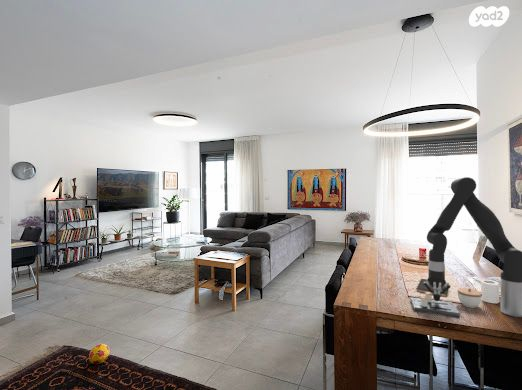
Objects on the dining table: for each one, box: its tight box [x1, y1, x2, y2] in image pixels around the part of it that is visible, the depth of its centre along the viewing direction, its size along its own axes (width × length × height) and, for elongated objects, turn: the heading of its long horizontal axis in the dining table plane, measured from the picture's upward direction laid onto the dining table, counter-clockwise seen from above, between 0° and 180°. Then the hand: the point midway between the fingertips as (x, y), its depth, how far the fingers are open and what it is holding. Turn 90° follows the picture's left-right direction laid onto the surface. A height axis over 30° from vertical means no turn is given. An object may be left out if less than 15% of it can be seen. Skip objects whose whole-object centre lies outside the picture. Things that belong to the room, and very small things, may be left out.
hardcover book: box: [416, 278, 450, 298], centre depth 177 cm, size 16×23×2 cm
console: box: [410, 297, 461, 318], centre depth 147 cm, size 20×14×2 cm
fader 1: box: [420, 295, 427, 307], centre depth 145 cm, size 2×3×4 cm
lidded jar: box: [457, 287, 483, 309], centre depth 150 cm, size 11×11×9 cm
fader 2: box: [424, 292, 433, 303], centre depth 151 cm, size 2×3×4 cm
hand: (436, 300), depth 149 cm, fingers closed
